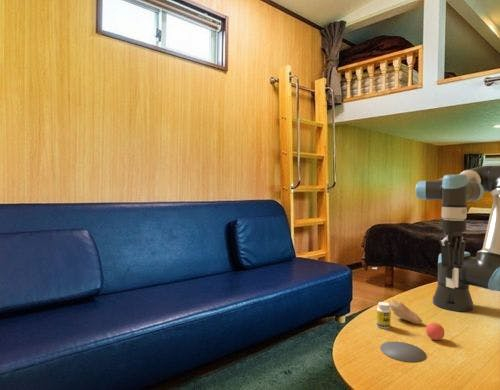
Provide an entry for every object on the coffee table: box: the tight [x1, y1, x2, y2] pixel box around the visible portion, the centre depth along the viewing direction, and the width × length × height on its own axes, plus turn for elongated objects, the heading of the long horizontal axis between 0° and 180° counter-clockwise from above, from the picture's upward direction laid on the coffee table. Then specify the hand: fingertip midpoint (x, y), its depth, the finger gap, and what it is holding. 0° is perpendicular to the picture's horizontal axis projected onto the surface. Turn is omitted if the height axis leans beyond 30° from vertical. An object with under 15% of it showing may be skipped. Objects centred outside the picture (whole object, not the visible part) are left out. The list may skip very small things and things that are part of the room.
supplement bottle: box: [376, 301, 392, 330], centre depth 129 cm, size 5×5×8 cm
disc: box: [379, 341, 427, 363], centre depth 109 cm, size 13×13×1 cm
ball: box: [425, 322, 445, 341], centre depth 118 cm, size 6×6×6 cm
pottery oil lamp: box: [388, 299, 423, 325], centre depth 134 cm, size 9×12×7 cm
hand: (452, 286), depth 122 cm, fingers closed
